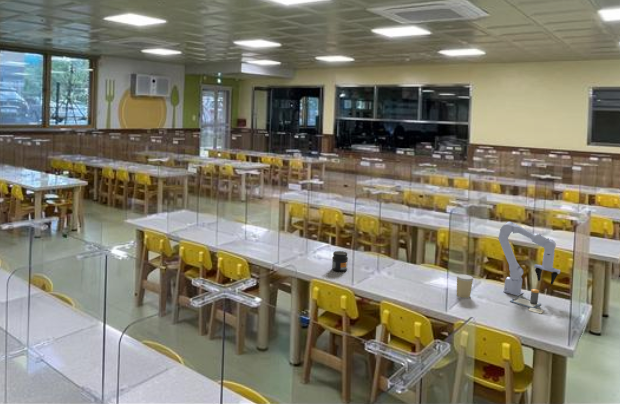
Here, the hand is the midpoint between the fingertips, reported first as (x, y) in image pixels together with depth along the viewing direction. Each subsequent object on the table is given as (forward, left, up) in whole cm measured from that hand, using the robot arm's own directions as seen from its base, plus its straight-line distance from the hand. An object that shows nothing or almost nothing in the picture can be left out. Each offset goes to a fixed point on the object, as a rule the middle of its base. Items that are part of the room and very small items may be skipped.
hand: (545, 282), depth 313 cm
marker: (0, -14, -10) cm, 17 cm away
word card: (+5, -23, -10) cm, 26 cm away
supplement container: (-114, -56, -11) cm, 128 cm away
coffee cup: (-34, -34, -11) cm, 49 cm away
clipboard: (-4, -16, -10) cm, 19 cm away
